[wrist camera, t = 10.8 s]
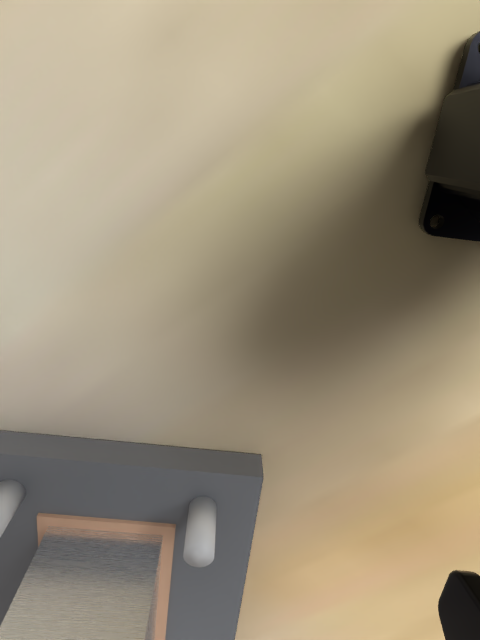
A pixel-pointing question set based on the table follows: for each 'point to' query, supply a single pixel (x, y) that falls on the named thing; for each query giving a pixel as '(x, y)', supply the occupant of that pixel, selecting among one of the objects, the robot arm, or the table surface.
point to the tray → (138, 517)
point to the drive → (88, 588)
